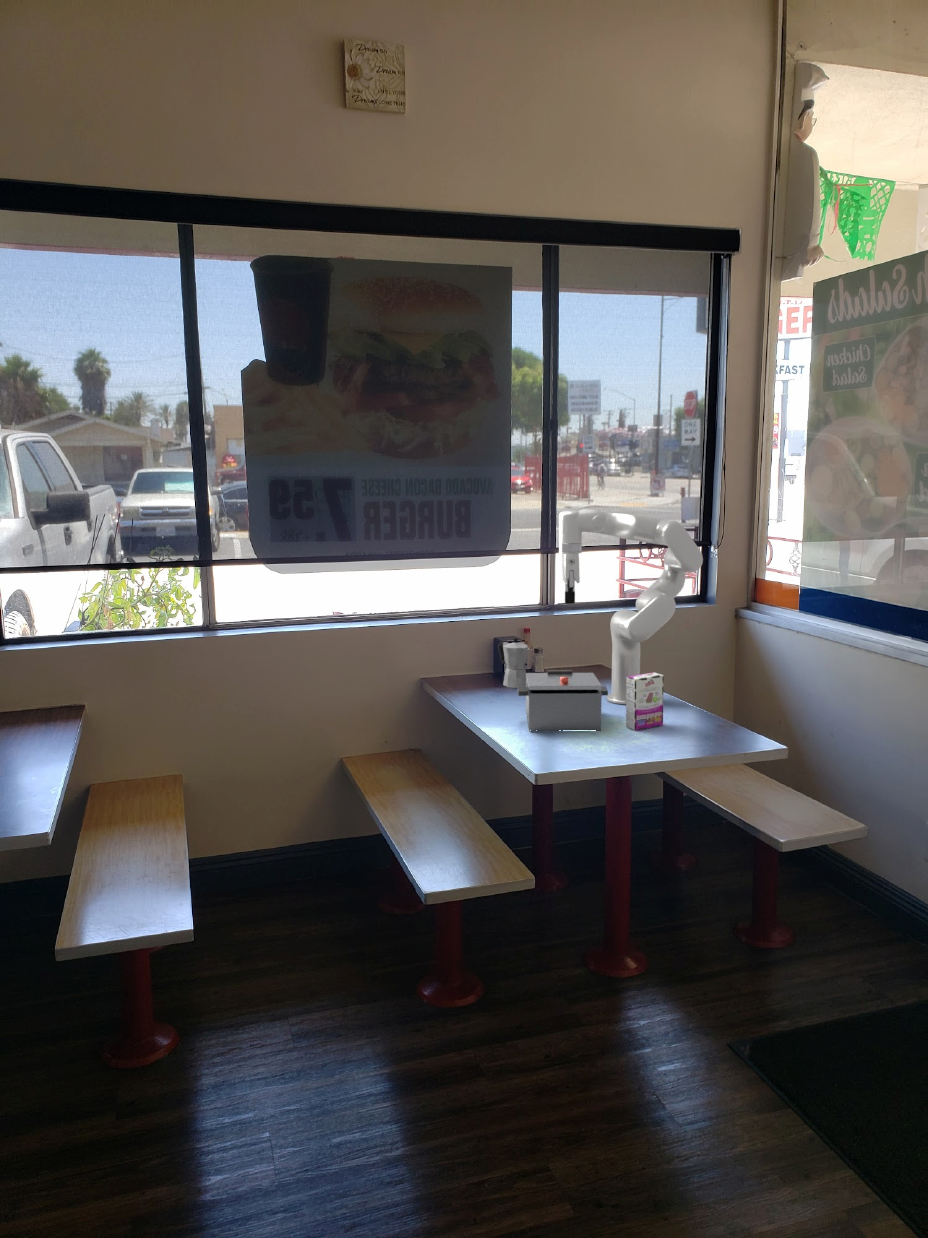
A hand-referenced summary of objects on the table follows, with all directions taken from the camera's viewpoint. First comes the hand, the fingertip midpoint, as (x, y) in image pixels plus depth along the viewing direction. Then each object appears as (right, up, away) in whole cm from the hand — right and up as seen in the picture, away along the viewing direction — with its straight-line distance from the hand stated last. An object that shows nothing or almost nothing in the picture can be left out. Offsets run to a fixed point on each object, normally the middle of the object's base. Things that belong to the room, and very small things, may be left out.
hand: (569, 603), depth 300 cm
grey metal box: (-4, -38, -14) cm, 40 cm away
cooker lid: (-4, -25, -16) cm, 30 cm away
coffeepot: (-17, -30, +35) cm, 49 cm away
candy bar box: (+21, -39, -20) cm, 49 cm away
